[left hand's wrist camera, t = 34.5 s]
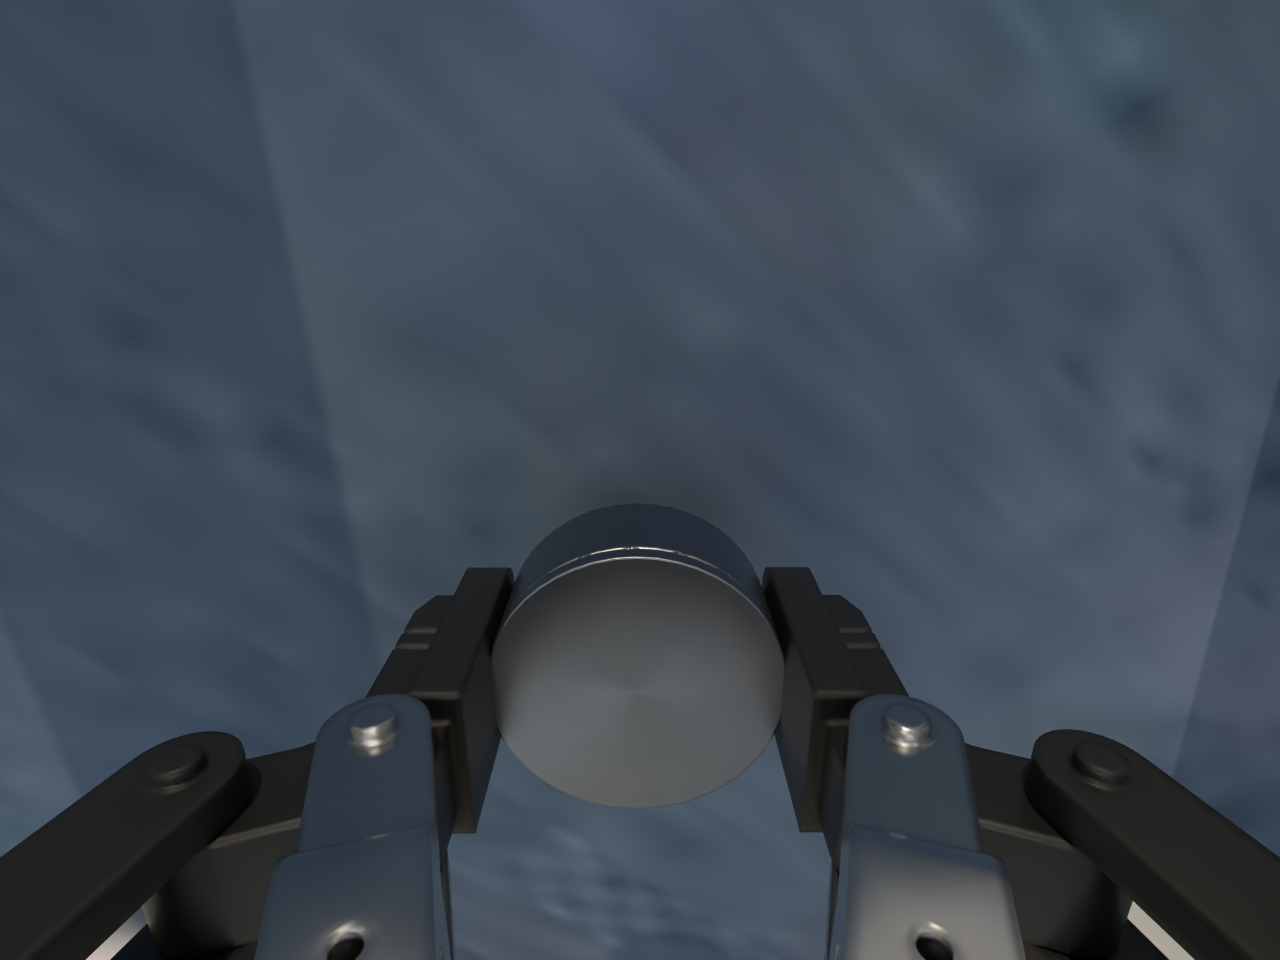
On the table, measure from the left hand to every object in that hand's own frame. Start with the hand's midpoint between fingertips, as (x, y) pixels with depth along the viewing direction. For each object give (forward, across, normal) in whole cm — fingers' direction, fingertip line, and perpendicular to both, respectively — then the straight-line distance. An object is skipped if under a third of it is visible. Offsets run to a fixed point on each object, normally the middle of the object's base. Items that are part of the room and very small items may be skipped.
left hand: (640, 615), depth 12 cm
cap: (-2, 0, 0) cm, 2 cm away
